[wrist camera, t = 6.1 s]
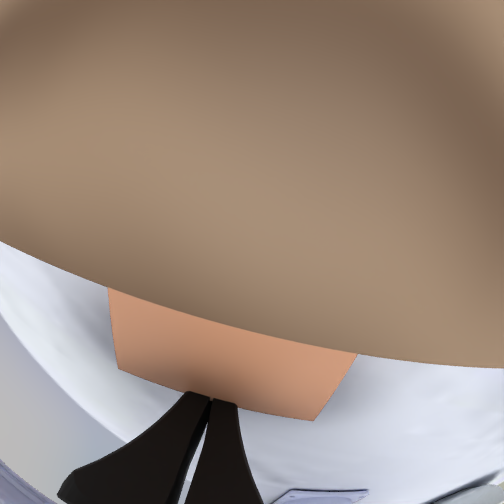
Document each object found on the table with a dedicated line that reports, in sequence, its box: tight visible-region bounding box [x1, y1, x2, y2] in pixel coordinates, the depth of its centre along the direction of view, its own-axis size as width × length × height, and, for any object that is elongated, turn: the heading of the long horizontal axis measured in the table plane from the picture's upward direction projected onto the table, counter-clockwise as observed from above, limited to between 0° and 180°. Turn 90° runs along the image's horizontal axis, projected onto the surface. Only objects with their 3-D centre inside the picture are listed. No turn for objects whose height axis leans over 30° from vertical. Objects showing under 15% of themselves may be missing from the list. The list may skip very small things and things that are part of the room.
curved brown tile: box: [0, 0, 504, 368], centre depth 5 cm, size 9×16×5 cm, turn 77°
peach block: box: [108, 288, 358, 421], centre depth 8 cm, size 10×7×3 cm
